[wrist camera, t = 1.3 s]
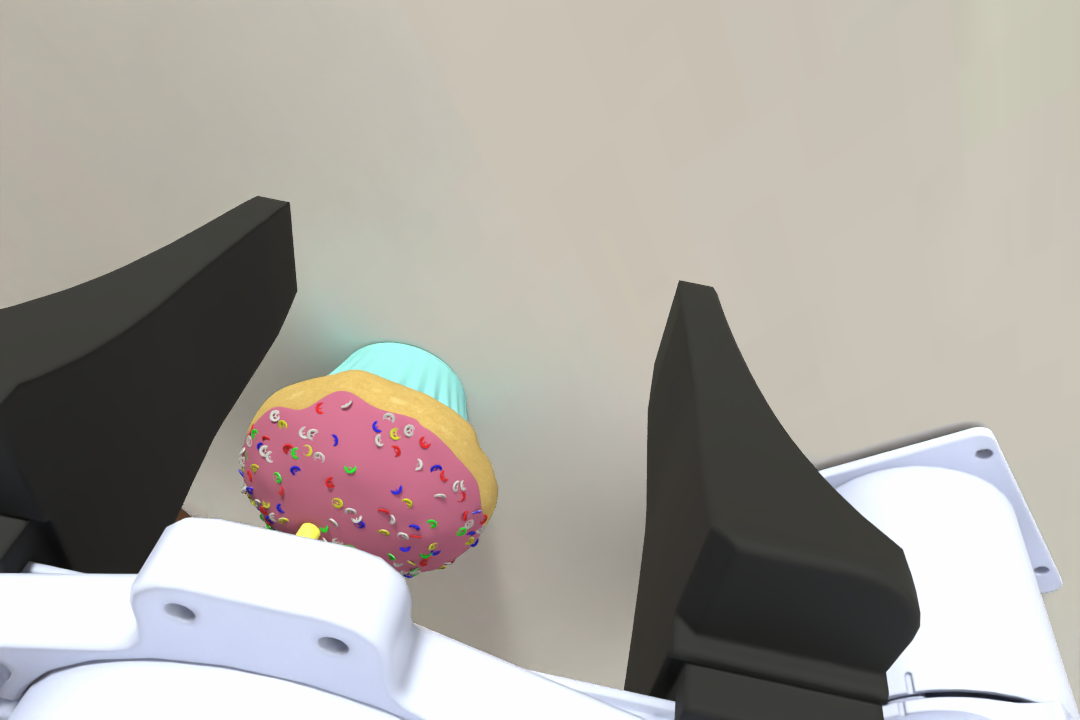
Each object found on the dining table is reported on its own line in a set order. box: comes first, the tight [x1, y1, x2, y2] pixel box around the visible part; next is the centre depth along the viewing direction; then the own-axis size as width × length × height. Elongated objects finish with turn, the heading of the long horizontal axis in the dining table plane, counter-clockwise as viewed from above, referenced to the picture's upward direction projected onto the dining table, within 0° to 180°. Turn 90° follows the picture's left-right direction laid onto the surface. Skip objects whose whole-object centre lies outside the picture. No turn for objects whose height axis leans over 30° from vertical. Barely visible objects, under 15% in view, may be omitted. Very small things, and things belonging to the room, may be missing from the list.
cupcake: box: [239, 343, 498, 578], centre depth 27 cm, size 9×8×12 cm
